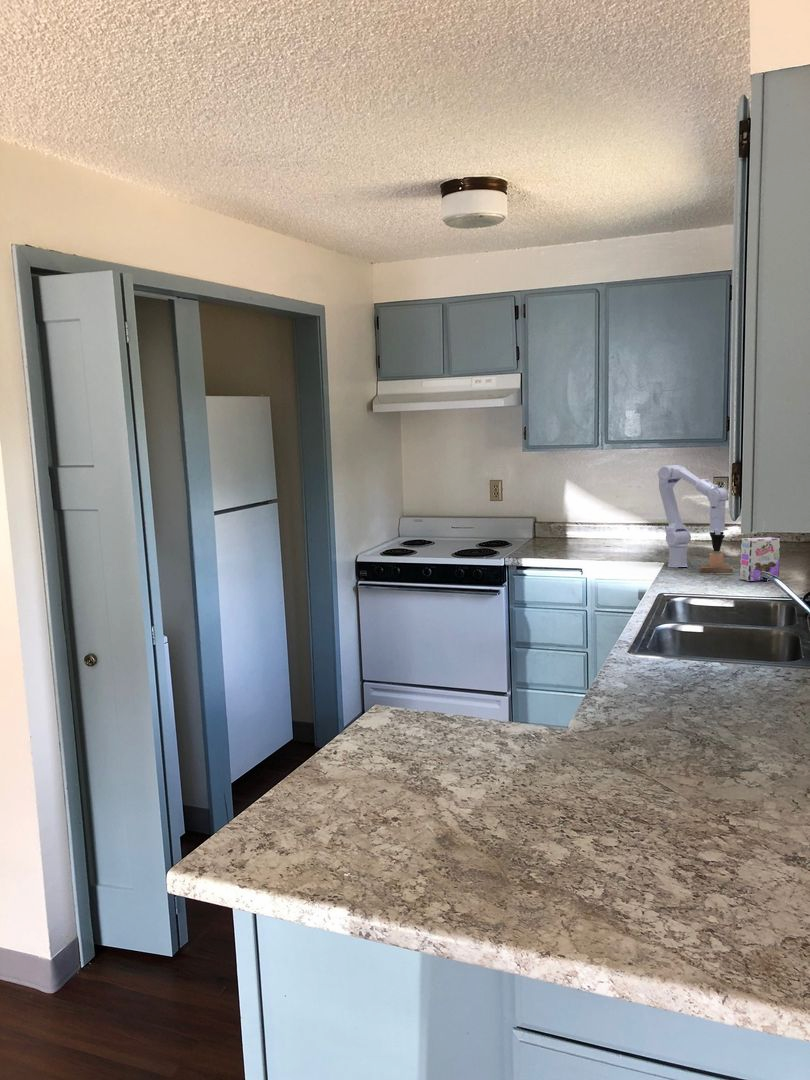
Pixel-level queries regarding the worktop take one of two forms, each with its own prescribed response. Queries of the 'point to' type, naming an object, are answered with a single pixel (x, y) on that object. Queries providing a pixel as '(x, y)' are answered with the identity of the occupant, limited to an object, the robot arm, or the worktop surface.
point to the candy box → (759, 557)
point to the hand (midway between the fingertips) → (716, 550)
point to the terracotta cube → (716, 560)
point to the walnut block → (715, 569)
